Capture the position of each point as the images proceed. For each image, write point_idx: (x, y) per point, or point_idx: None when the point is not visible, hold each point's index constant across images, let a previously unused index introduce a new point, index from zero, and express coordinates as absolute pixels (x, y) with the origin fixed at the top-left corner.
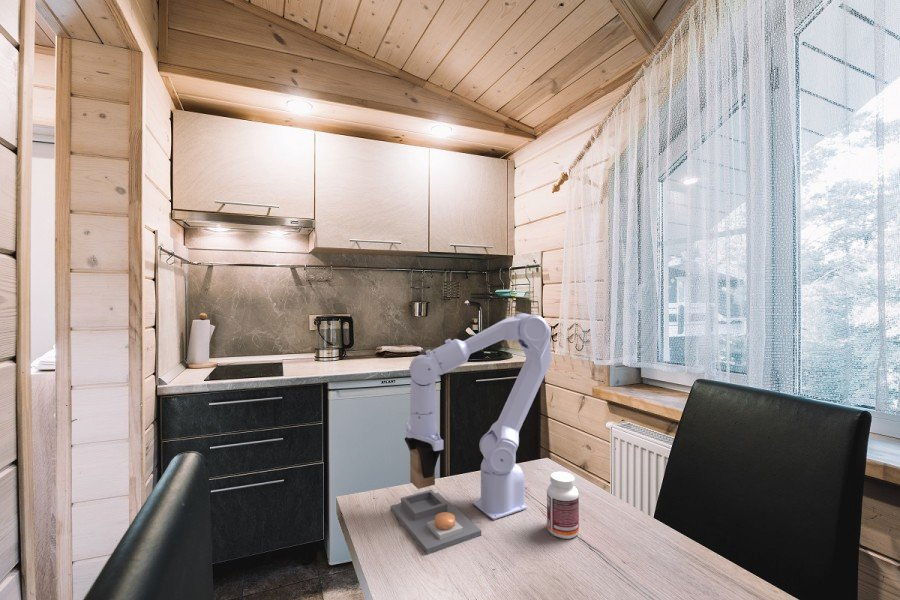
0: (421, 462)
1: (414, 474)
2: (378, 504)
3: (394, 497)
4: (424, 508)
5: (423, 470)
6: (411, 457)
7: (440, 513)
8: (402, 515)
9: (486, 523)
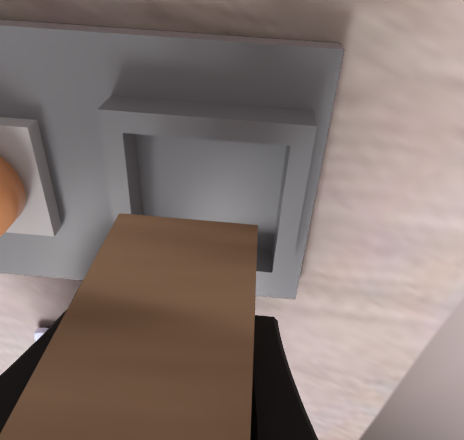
0: (9, 410)
1: (162, 275)
2: (460, 6)
3: (450, 131)
4: (200, 189)
5: (32, 346)
6: (211, 407)
7: (3, 203)
8: (195, 60)
9: (30, 303)
